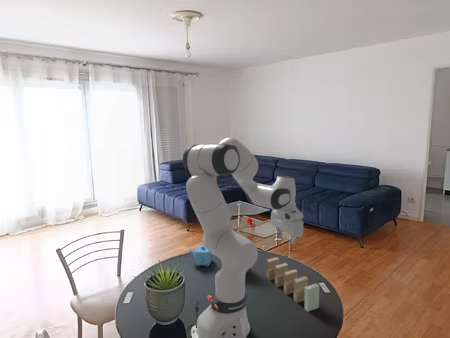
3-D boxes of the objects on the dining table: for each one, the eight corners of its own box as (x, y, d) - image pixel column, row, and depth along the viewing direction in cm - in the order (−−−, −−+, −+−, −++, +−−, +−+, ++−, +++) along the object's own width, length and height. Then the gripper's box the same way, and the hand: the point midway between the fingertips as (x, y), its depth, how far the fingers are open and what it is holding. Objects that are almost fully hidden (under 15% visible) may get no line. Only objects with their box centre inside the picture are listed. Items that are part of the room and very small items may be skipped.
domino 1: (279, 277, 153) (279, 258, 152) (269, 280, 151) (268, 261, 149) (276, 275, 155) (276, 257, 153) (266, 278, 152) (266, 259, 151)
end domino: (318, 307, 128) (319, 285, 127) (307, 311, 126) (308, 289, 124) (315, 305, 130) (316, 283, 128) (304, 309, 128) (304, 287, 126)
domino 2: (287, 283, 147) (287, 264, 145) (277, 287, 144) (277, 267, 143) (285, 281, 149) (285, 262, 147) (274, 285, 146) (274, 265, 145)
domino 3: (297, 291, 141) (297, 270, 139) (286, 294, 138) (286, 274, 137) (294, 289, 143) (294, 269, 141) (283, 292, 140) (283, 272, 138)
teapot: (212, 271, 161) (211, 253, 159) (186, 270, 163) (185, 253, 161) (217, 256, 179) (216, 239, 177) (193, 255, 180) (192, 239, 179)
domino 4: (307, 299, 135) (307, 277, 133) (296, 302, 132) (296, 281, 130) (304, 296, 136) (304, 275, 135) (293, 300, 134) (293, 279, 132)
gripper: (267, 206, 146) (267, 233, 148) (293, 218, 127) (293, 249, 130) (278, 203, 148) (278, 231, 151) (305, 215, 130) (305, 246, 132)
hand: (285, 239), depth 140 cm, fingers open, 8 cm apart
